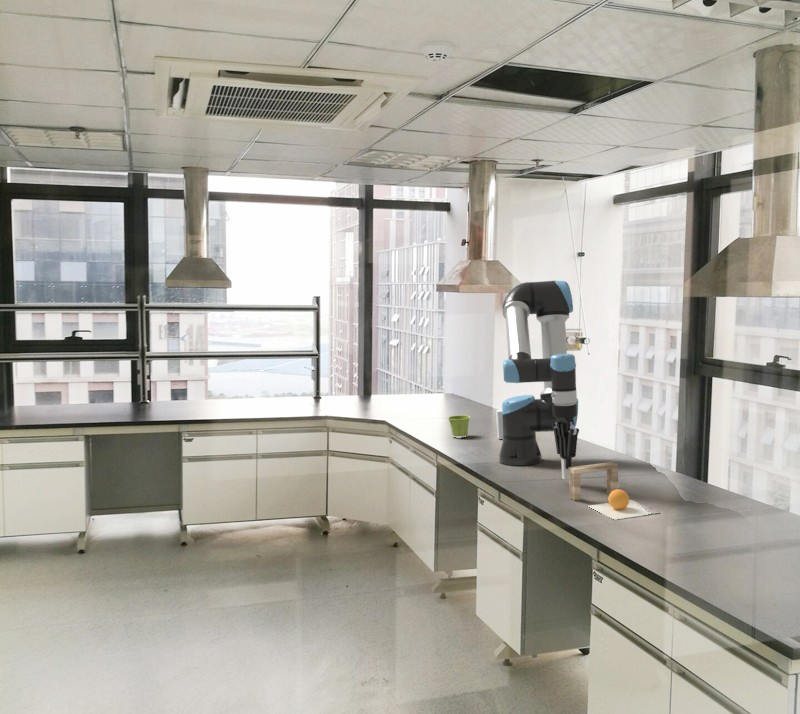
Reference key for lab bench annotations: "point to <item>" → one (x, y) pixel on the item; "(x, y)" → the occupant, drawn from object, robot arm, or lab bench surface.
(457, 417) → the plant pot
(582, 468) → the bridge
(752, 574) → the lab bench surface
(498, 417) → the skincare box
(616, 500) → the ball
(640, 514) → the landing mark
